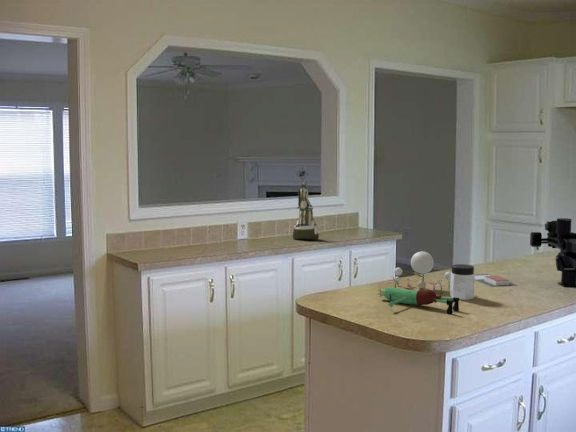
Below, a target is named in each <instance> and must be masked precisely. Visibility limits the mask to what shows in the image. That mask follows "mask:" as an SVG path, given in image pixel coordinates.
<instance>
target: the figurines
mask: <svg viewBox="0 0 576 432" xmlns="http://www.w3.org/2000/svg"><path fill="white" fill-rule="evenodd" d="M410 266H411V268H412V270H413V271H414V272H413V273H414V275H416V276H417V277H421V278H422V281H421V280H420V281H418V282H417V288H419V289H426V288H427V283H426V282H425V274H427V273H430V272H431V271H432V269H434V258H433V256H432V255H431V254H430V253H429V252H427V251H418V252H416V253H414V254H413V255H412V257H411V258H410ZM393 271H394V275H395V277H394V276H392V279H393V281H394V288H397V286H399V285H400V284H399V281H400V276H402V274H403V269H402V268H401V267H396V268H395V269H394V270H393ZM451 272H452V271H450V270H449V271H446V272H445V273H444V278H445V280H448V288H447V290H448V291H450V280H451ZM406 280H407V284H406V285H407V287H409V290H413V288H412V285H413V283H410V280H412V277H410V278H406ZM429 284H430V285H432V286H433V289H432V291H434V292H435V293H436V287H435V285H437V284H439V286H440V292H439V293H440V294H443V286H442V284H443V281H442V280H441V279H438V280H437V282H435V283H434V282H429Z"/></svg>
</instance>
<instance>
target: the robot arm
mask: <svg viewBox="0 0 576 432" xmlns="http://www.w3.org/2000/svg"><path fill="white" fill-rule="evenodd" d="M572 221H573V220H572V218H565V217H558V218H557V217H556V220H552V221H546V223H545V224H544V230H545V231H547V234H546V235H547V236H546V238H543V234H542V232H539V231H538V232H537V231H531V232H530V236H529V237H530V238H529V246H530V247H534V248H536V247H537V248H541V246H542V244H543V245H546V244H547V247H548V248H550V247H551V248H552V249H558V250H560V252H558V253H557V255H556V256H555V266H556V270H557V271H558V272H561V278H560V282H559V281H558V282H557V284H558V285H560V286H562V287H565V288H566V287H567V288H575V287H576V232H572Z"/></svg>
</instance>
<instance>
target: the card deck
mask: <svg viewBox="0 0 576 432" xmlns="http://www.w3.org/2000/svg"><path fill="white" fill-rule="evenodd" d="M484 281H486V282H488V283H491V284H493V285H509V282H510V279H507V278H505V277H502V276H499V275H492V276H485V278H484Z"/></svg>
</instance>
